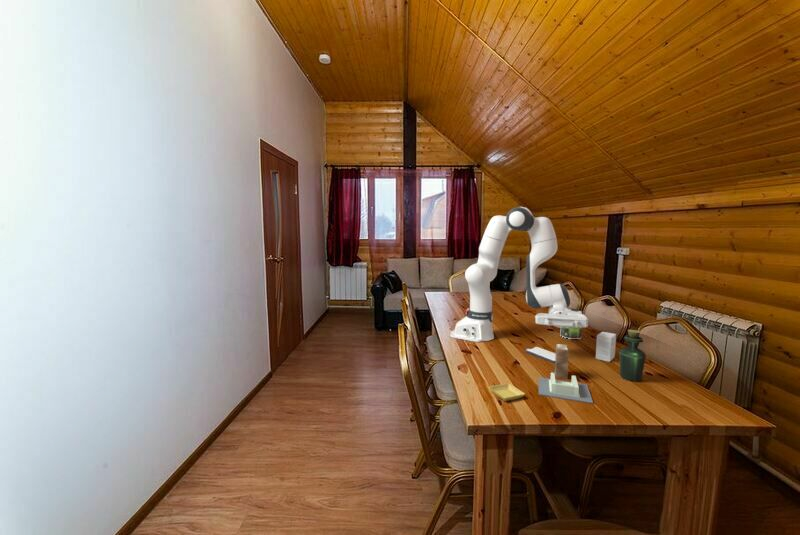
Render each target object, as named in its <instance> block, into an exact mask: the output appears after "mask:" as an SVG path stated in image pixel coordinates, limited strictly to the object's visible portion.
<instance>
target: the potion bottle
mask: <svg viewBox="0 0 800 535" xmlns="http://www.w3.org/2000/svg"><path fill="white" fill-rule="evenodd" d="M640 335H641V331H640V330H636V329H627V335H626V334H625V336H624V337H623V339H624V341H626V342H627V343H626V344H627V346H625V347H622V348H621V349H620V350H619V352H618V354H619V375H620V377H621V378H622V379H624V380H626V381H629V382H640V381H642V379H643V374H644V369H645V362H646V358H647V355H646V353H645V352H644V351H643V350H641V349H640V348H639V346H640V345H639V344H640V343H643V342H644V340H643V338H642V337H641V336H640Z"/></svg>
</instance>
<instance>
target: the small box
mask: <svg viewBox="0 0 800 535" xmlns="http://www.w3.org/2000/svg"><path fill="white" fill-rule="evenodd" d="M616 342H617V333H613V332H606V331H601V332H599V333H598V334H596V344H595V345H596V348H595V359H597V360H600V361H604V362H611V361H612V360H613V359H615V355H616Z"/></svg>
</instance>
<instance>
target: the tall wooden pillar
mask: <svg viewBox="0 0 800 535" xmlns="http://www.w3.org/2000/svg"><path fill="white" fill-rule="evenodd" d="M555 353H556V357H555V363H554V374H555V379H562V380H568V377H569V375H568V374H569V358H570V356H569V355H570V349H569V346H568V345H567V344H562V343H561V344H560V343H557V344H555Z"/></svg>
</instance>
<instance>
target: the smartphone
mask: <svg viewBox="0 0 800 535" xmlns="http://www.w3.org/2000/svg"><path fill="white" fill-rule="evenodd" d="M524 353H526V354H528V355H531V356H533V357H536V358H538V359H541V360H544V361H546V362H549V363H552V364H555V357H556V352H554V351H553V352H552V351H549V350H547V349H544V348H542V347H538V346H534V347H533V346H532V347H530V348H526V349H525V350H524Z"/></svg>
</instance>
